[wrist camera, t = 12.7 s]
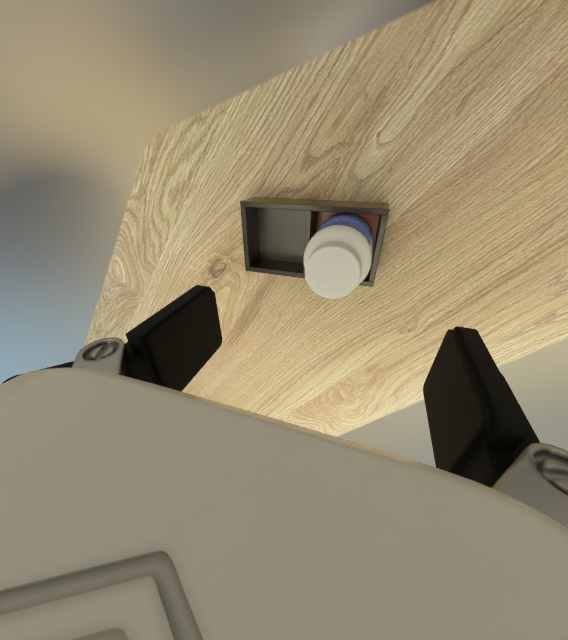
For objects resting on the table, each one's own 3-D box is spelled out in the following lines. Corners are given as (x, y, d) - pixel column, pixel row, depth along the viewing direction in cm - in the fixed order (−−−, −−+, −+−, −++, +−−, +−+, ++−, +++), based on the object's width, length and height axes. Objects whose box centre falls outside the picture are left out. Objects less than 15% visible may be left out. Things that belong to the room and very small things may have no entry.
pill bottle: (313, 219, 26) (284, 244, 18) (368, 203, 23) (363, 224, 16) (325, 269, 28) (304, 312, 20) (376, 259, 26) (376, 302, 18)
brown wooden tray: (254, 197, 27) (240, 201, 24) (388, 203, 24) (389, 208, 21) (258, 260, 31) (245, 270, 28) (373, 273, 27) (372, 287, 24)
